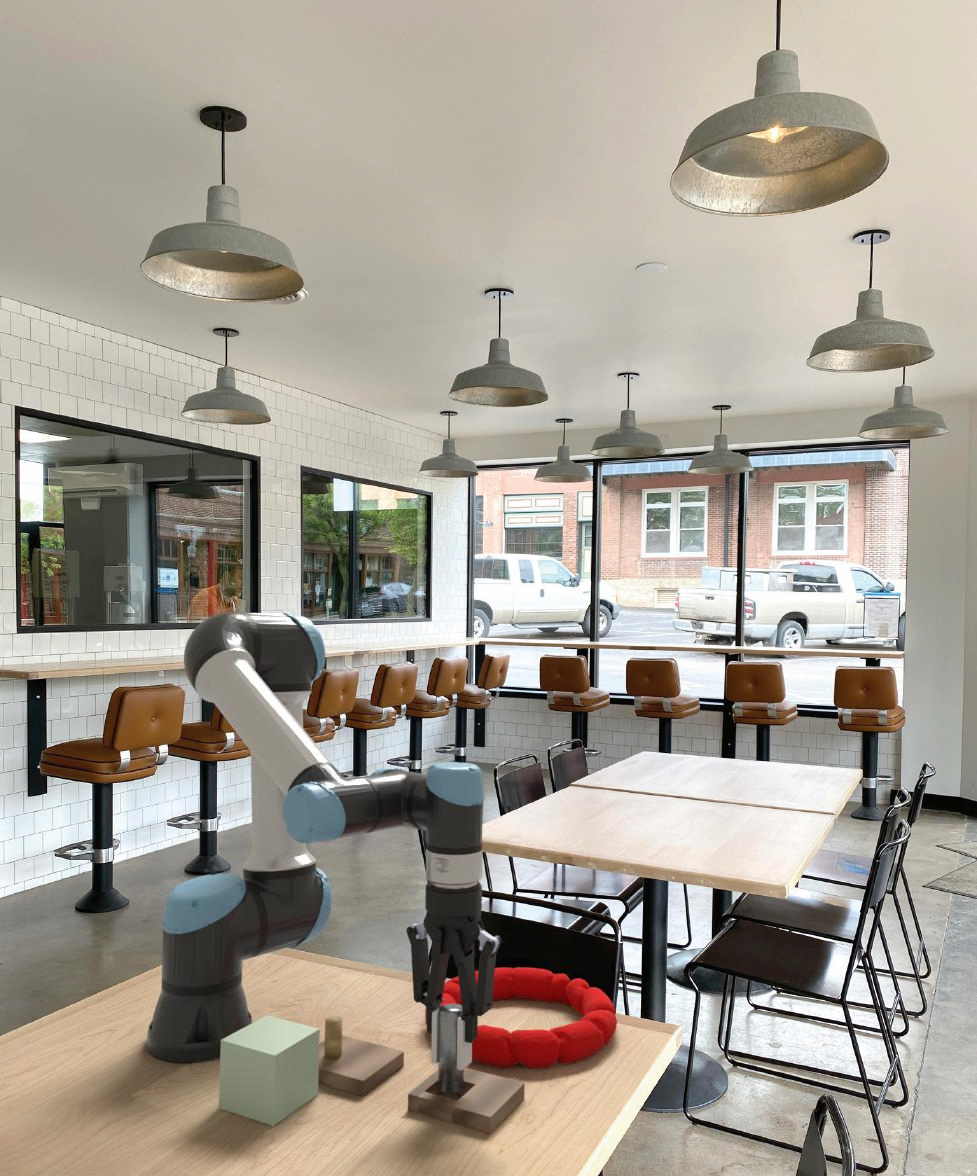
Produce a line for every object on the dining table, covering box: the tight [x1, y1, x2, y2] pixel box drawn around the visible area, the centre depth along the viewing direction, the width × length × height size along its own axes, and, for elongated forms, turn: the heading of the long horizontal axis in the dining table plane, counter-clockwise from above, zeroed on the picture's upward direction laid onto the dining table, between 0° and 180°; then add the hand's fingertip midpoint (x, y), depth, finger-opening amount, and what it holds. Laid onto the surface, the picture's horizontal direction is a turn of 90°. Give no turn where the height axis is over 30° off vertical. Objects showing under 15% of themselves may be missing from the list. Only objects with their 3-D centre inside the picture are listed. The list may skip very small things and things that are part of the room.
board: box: [318, 1015, 405, 1097], centre depth 130 cm, size 12×10×7 cm
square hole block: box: [407, 1067, 526, 1134], centre depth 122 cm, size 12×10×2 cm
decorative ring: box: [424, 966, 618, 1069], centre depth 146 cm, size 7×30×30 cm
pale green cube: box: [218, 1014, 321, 1127], centre depth 122 cm, size 9×9×9 cm
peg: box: [437, 1004, 464, 1094], centre depth 122 cm, size 3×3×10 cm
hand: (451, 1061), depth 122 cm, fingers closed on peg, 3 cm apart
